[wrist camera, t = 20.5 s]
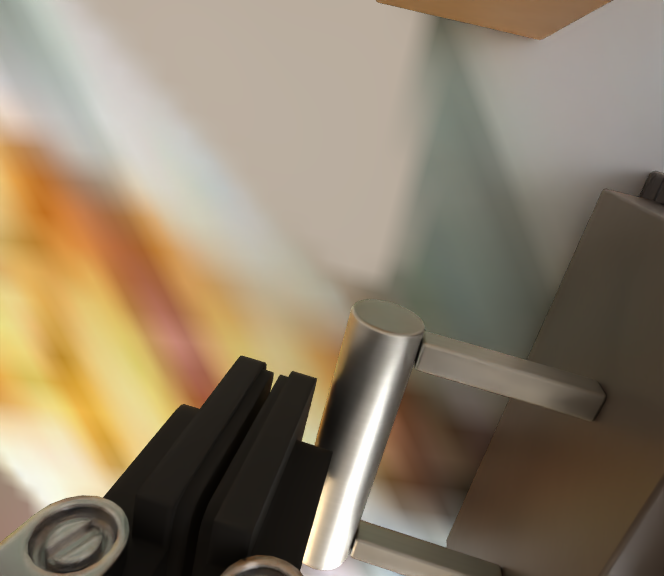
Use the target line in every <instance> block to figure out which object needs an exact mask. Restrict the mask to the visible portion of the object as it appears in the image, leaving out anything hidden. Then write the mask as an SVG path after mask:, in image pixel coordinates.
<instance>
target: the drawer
mask: <svg viewBox="0 0 664 576" xmlns="http://www.w3.org/2000/svg"><path fill="white" fill-rule="evenodd" d="M414 362H415V369H416V370H418V371H421V372H425V373H428V374H431V375H435V376H438V377H442V378H445V379H448V380H452V381H455V382H458V383H462V384H465V385H469V386H472V387H475V388H479V389H482V390H486V391H489V392H492V393H496V394H499V395H502V396H506V397H509V398H510V399H509V401H508V403H507V405H506V408H505V410H504V412H503V414H502V417H501V419H500V421H499V423H498V426H497V428H496V430H495V432H494V435H493V437H492V439H491V441H490V444H489V446H488V448H487V450H486V453H485V455H484V457H483V459H482V462H481V464H480V466H479V468H478V471H477V473H476V475H475V477H474V480H473V482H472V484H471V486H470V488H469V491H468V493H467V495H466V497H465V500H464V502H463V504H462V506H461V509H460V511H459V513H458V515H457V518H456V520H455V522H454V524H453V527H452V529H451V531H450V533H449V536H448V538H447V540H446V541H447V548H445V547H442V546H439V545H436V544H433V543H430V542H427V541H424V540H421V539H418V538H415V537H411V536H408V535H405V534H402V533H399V532H396V531H393V530H390V529H387V528H384V527H381V526H378V525H375V524H371V523H368V522H365V521H362V520H361V517H362V514H363V511H364V508H365V505H366V502H367V499H368V496H369V493H370V490H371V487H372V485H373V482H374V479H375V476H376V473H377V470H378V467H379V464H380V461H381V458H382V455H383V452H384V449H385V446H386V444H387V441H388V438H389V435H390V432H391V429H392V426H393V423H394V420H395V417H396V414H397V411H398V408H399V405H400V403H401V400H402V397H403V394H404V391H405V388H406V385H407V382H408V379H409V376H410V373H411V370H412V367H413V365H414ZM314 446H317V447H320V448H323V449H326V450H330V451H333V454H332V458H331V461H330V465H329V469H328V472H327V476H326V479H325V483H324V486H323V490H322V494H321V497H320V501H319V504H318V508H317V511H316V515H315V519H314V522H313V526H312V529H311V533H310V536H309V540H308V544H307V547H306V551H305V554H304V558H303V562H302V563H304V564H305V565H307V566H309V567H311V568H313V569H317V570H331V569H334V568H337V567H338V566H340V565H341V564H342V563H343V562H344V561H345V560H346V559H347V557H348V555H349V552H350V555H351V557H352V558H354V559H357V560H360V561H363V562H366V563H369V564H372V565H375V566H378V567H381V568H384V569H387V570H390V571H393V572H396V573H399V574H402V575H405V576H664V205H662V204H660V203H657V202H655V201H652V200H649V199H645V198H641V197H637V196H633V195H629V194H625V193H621V192H617V191H613V190H609V189H603V191H602V192H601V194H600V197H599V199H598V201H597V203H596V206H595V208H594V210H593V212H592V215H591V217H590V219H589V221H588V224H587V226H586V228H585V230H584V233H583V235H582V237H581V239H580V242H579V244H578V246H577V248H576V251H575V253H574V255H573V257H572V260H571V262H570V264H569V266H568V268H567V271H566V273H565V275H564V277H563V280H562V282H561V284H560V286H559V289H558V291H557V293H556V295H555V298H554V300H553V302H552V304H551V307H550V309H549V311H548V313H547V316H546V318H545V320H544V322H543V325H542V327H541V329H540V331H539V334H538V336H537V338H536V340H535V343H534V345H533V347H532V349H531V352H530V354H529V356H528V358H527V360H525V359H522V358H518V357H515V356H511V355H508V354H504V353H501V352H497V351H494V350H490V349H487V348H483V347H480V346H476V345H473V344H469V343H466V342H463V341H459V340H456V339H452V338H449V337H445V336H442V335H438V334H435V333H431V332H428V331H425V325H424V322H423V321H422V319H421V318H420V317H419V316H418V315H416V314H415V313H414V312H412V311H410V310H409V309H407V308H405V307H402V306H400V305H397V304H395V303H391V302H387V301H383V300H375V299H367V300H361V301H358V302H356V303H355V304H354V305H353V306H352V308H351V312H350V316H349V319H348V323H347V327H346V330H345V334H344V338H343V342H342V345H341V349H340V353H339V356H338V360H337V364H336V368H335V371H334V375H333V379H332V382H331V386H330V390H329V393H328V397H327V401H326V405H325V408H324V412H323V416H322V419H321V423H320V427H319V431H318V434H317V438H316V442H315V445H314ZM350 549H351V551H350Z"/></svg>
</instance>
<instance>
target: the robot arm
mask: <svg viewBox="0 0 664 576" xmlns="http://www.w3.org/2000/svg"><path fill="white" fill-rule="evenodd" d="M273 376H274V373H273V372H270V371H267V370H266V363H265V362H261V361H258V360H255V359H252V358H248V357H245V356H240V357H239V358H238V359H237V361H236V362H235V363H234V364H233V366H232V367H231V368H230V370H229V371H228V372H227V374H226V375H225V376H224V378H223V379H222V380H221V382H220V383H219V384H218V386H217V387H216V388H215V390H214V391H213V392H212V394H211V395H210V396H209V397H208V399H207V400H206V401H205V403H204V404H203V405H202V407H201V408H200V409H198V408H195V407H192V406H189V405H185V404H183V405H181V406H180V407H179V408H178V409H177V410H176V411H175V412H174V413H173V414H172V415H171V417H170V418H169V419H168V420H167V421H166V423H165V424H164V425H163V426H162V427H161V429H160V430H159V431H158V432H157V433H156V435H155V436H154V437H153V438H152V439H151V441H150V442H149V443H148V444H147V445H146V447H145V448H144V449H143V450H142V451H141V453H140V454H139V455H138V456H137V457H136V459H135V460H134V461H133V462H132V463H131V465H130V466H129V467H128V468H127V469H126V471H125V472H124V473H123V474H122V475H121V477H120V478H119V479H118V480H117V481H116V483H115V484H114V485H113V486H112V487H111V489H110V490H109V491H108V492H107V493H106V495H105V496H104V497H103V498H101V497H98V496H83V495H82V496H76V497H70V498H65V499H63V500H60V501H57V502H55V503H52V504H50V505H48V506H47V507H45V508H43V509H42V510H40V511H39V512H37V513H36V514H34V515H33V516H32V517H31V518H29V519H28V520H27V521H26V522H25V523H23V524H22V525H21V526H20V527H19V528H17V529H16V530H15V531H14V532H12V533H11V534H10V535H9V536H7V537H6V538H5V539H4V540H3V541H1V542H0V576H303V575H302V573H301V572H300V569H301V565H302V562H303V558H304V554H305V551H306V547H307V544H308V540H309V536H310V533H311V529H312V526H313V522H314V519H315V515H316V511H317V508H318V504H319V501H320V497H321V494H322V490H323V486H324V483H325V479H326V476H327V472H328V469H329V465H330V461H331V458H332V454H333V451H330V450H326V449H323V448H320V447H317V446H314V445H311V444H308V443H305V442H301V441H302V437H303V433H304V429H305V425H306V421H307V417H308V414H309V410H310V406H311V402H312V398H313V394H314V390H315V386H316V382H317V378H314V377H310V376H307V375H304V374H301V373H297V372H294V371H292V372H291V373H290V375H289V377H287V376H283V375H280V376H279V377H278V379H277V381H276V383H275V385H274V386H273V388H272V390H271V386H272V381H273ZM270 391H271V392H270Z"/></svg>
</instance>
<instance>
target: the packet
mask: <svg viewBox="0 0 664 576" xmlns="http://www.w3.org/2000/svg"><path fill="white" fill-rule="evenodd" d="M376 1H377V2H378V3H382V4H387V5H391V6H395V7H400V8H404V9H408V10H413V11H417V12H421V13H426V14H430V15H434V16H439V17H443V18H447V19H452V20H456V21H460V22H464V23H469V24H473V25H477V26H482V27H486V28H490V29H495V30H499V31H503V32H508V33H512V34H516V35H521V36H525V37H529V38H533V39H538V40H541V39H544V38H546V37H547V36H549V35H551V34H553V33H555V32H557V31H558V30H560V29H562V28H564V27H566V26H567V25H569V24H571V23H573V22H575V21H576V20H578V19H580V18H582V17H584V16H585V15H587V14H589V13H591V12H593V11H595V10H596V9H598V8H600V7H602V6H604V5H605V4H607V3H609V2H611V1H613V0H376Z"/></svg>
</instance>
